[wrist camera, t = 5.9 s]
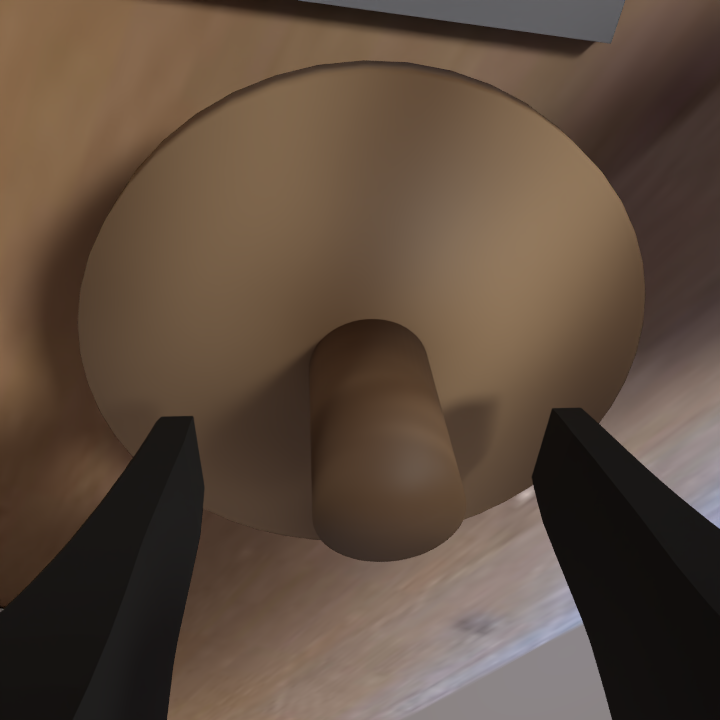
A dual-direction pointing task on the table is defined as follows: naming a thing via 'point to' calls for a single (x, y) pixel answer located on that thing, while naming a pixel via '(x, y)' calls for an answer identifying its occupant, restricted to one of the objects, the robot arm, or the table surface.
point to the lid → (362, 300)
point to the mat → (510, 14)
